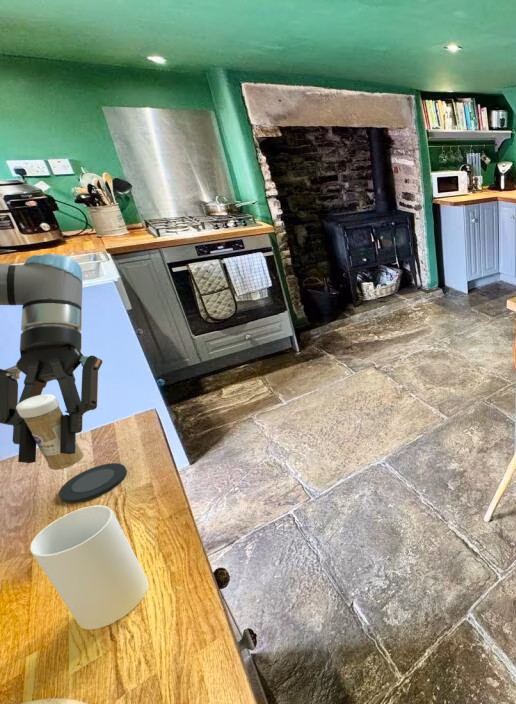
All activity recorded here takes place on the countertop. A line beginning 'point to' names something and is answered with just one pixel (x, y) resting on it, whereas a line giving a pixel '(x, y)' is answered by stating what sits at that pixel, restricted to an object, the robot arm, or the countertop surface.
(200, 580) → the countertop surface
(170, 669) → the countertop surface
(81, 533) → the cup
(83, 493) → the mat
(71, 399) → the robot arm
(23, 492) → the countertop surface
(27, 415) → the sprinkles bottle
